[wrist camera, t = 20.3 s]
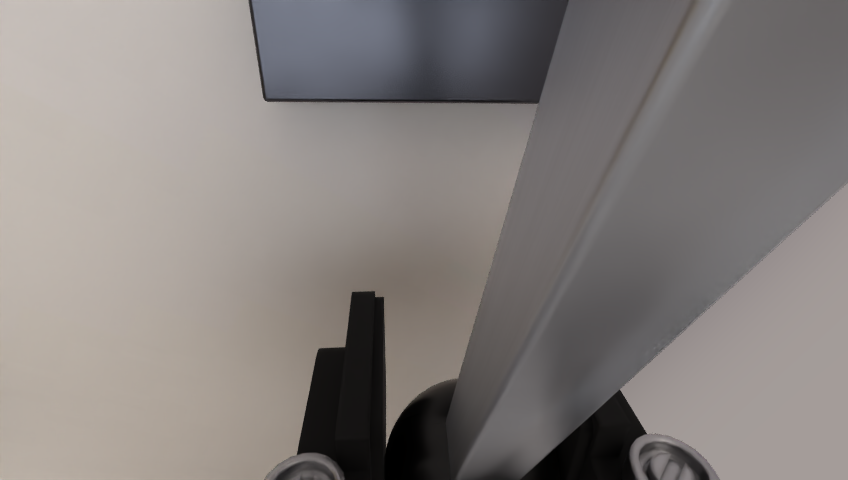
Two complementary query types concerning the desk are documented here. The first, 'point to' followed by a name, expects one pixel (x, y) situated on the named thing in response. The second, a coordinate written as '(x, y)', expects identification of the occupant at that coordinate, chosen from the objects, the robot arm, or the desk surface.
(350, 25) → the lever stand
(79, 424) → the desk surface
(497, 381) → the lever
